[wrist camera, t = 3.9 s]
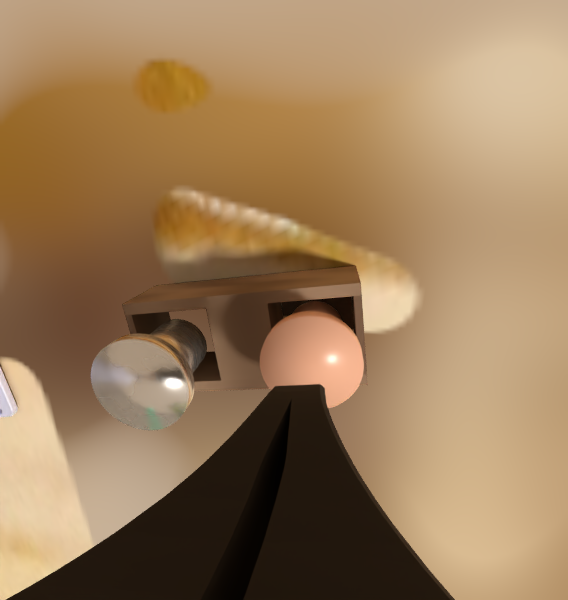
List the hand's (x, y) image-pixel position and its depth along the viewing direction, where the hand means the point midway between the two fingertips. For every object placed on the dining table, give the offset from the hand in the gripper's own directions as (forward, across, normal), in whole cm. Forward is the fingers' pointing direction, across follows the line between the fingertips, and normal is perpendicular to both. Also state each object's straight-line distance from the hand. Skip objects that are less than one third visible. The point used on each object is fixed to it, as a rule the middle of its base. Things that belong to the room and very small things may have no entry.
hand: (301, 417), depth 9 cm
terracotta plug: (+6, 0, 0) cm, 6 cm away
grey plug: (+5, +6, 0) cm, 8 cm away
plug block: (+8, +3, 0) cm, 9 cm away
